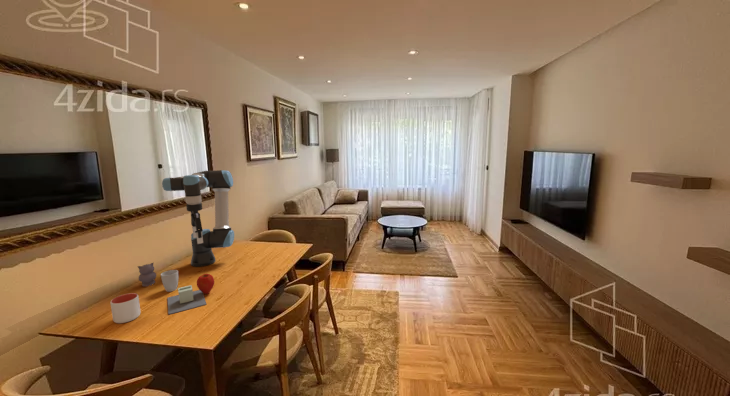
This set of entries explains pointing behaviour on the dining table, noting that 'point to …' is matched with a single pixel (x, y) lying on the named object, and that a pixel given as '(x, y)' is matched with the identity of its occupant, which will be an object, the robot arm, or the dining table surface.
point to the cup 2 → (170, 280)
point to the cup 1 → (125, 308)
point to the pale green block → (185, 294)
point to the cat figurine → (147, 274)
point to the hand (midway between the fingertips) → (198, 240)
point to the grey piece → (176, 307)
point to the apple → (205, 283)
